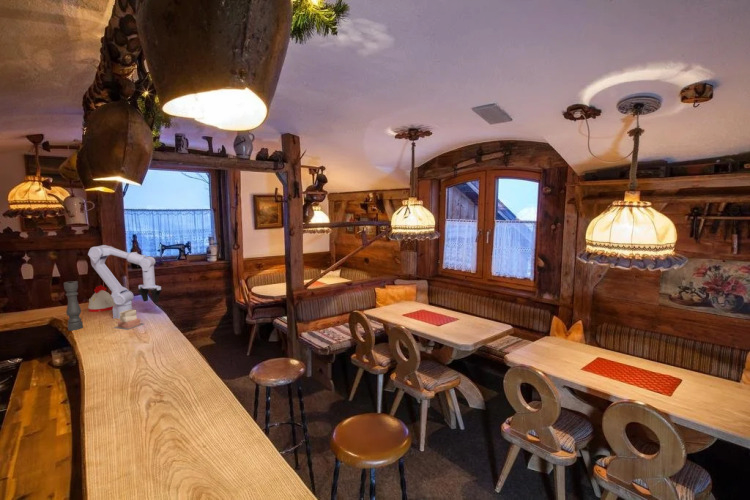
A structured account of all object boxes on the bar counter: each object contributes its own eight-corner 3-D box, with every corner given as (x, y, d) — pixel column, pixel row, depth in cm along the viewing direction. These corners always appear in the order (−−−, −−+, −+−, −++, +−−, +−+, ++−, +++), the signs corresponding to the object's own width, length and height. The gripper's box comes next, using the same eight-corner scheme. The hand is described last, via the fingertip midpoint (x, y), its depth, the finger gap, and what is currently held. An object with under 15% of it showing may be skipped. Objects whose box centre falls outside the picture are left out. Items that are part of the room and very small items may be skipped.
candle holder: (84, 328, 197) (79, 282, 194) (69, 331, 192) (63, 284, 189) (81, 326, 201) (77, 280, 198) (67, 328, 196) (62, 282, 193)
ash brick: (120, 321, 194) (119, 312, 193) (131, 318, 199) (130, 309, 199) (126, 322, 193) (125, 313, 192) (136, 319, 198) (136, 309, 198)
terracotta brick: (118, 327, 194) (117, 321, 194) (130, 323, 201) (130, 317, 200) (128, 328, 192) (127, 322, 192) (140, 324, 199) (139, 318, 198)
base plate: (113, 330, 193) (113, 327, 193) (131, 324, 203) (131, 322, 203) (127, 332, 190) (127, 329, 190) (145, 326, 200) (145, 323, 200)
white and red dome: (82, 311, 229) (80, 287, 227) (101, 305, 242) (99, 282, 240) (102, 312, 227) (100, 288, 225) (121, 306, 240) (119, 283, 239)
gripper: (132, 278, 209) (134, 302, 211) (152, 280, 205) (154, 304, 207) (144, 276, 216) (145, 299, 218) (163, 277, 212) (165, 301, 213)
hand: (150, 301), depth 213 cm, fingers open, 7 cm apart
